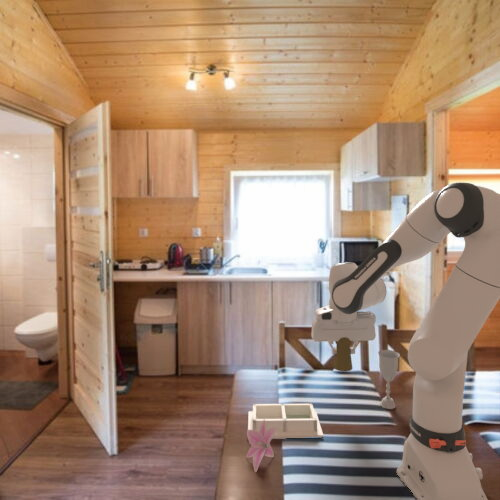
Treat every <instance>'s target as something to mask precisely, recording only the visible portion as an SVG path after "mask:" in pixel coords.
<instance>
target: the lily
mask: <svg viewBox="0 0 500 500" xmlns="http://www.w3.org/2000/svg"><path fill="white" fill-rule="evenodd" d="M276 430H277V427H272V428H269V429H267V430H266V422H265V419H264V421H263V422H262V424H261V427H260V430H259V431H256V430H248V429H247V430H246V436H247V437H246V438H247V440H248V443H249V445H250V447H249V449H248V451H247V453H246V456H245V458H246V459H248V458H252V465H253V471H254V473H257V471H258V469H259V466H260V465H261V462H262V460H263V459H264V456H265V457H269V458H274V457H275V455H276V453H275V452H274V450H273V448H272V446H271V441H272V440H273V439H272V437H273V436H274V434H275V432H276Z"/></svg>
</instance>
